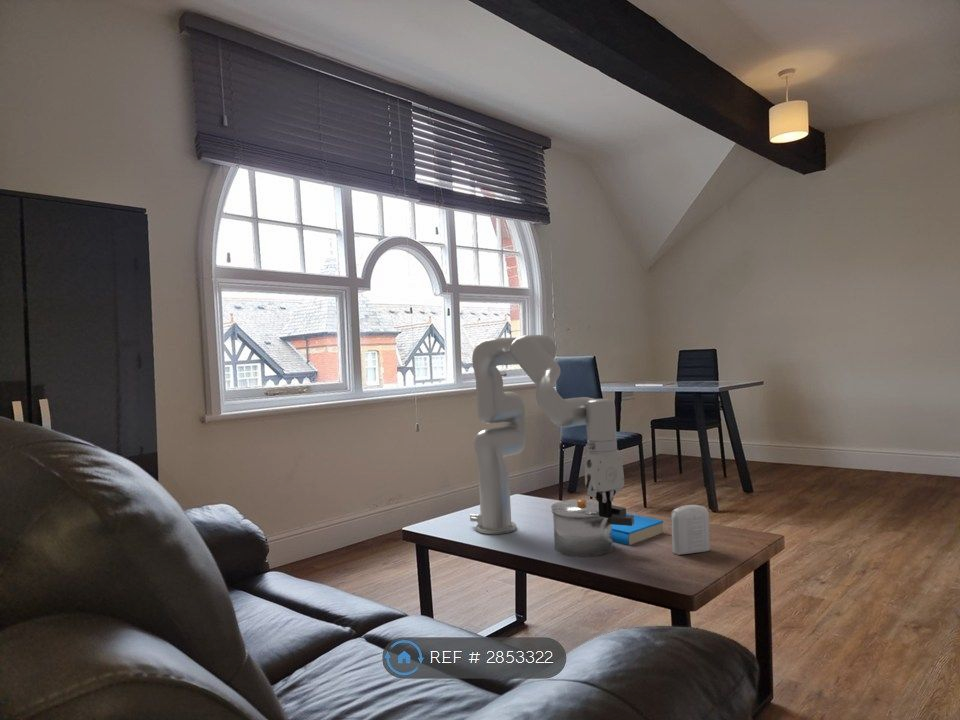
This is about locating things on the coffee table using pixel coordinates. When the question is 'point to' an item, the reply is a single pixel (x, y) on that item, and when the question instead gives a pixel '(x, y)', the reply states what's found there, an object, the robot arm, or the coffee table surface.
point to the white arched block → (690, 529)
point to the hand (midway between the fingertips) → (605, 516)
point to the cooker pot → (586, 535)
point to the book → (637, 530)
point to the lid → (583, 509)
